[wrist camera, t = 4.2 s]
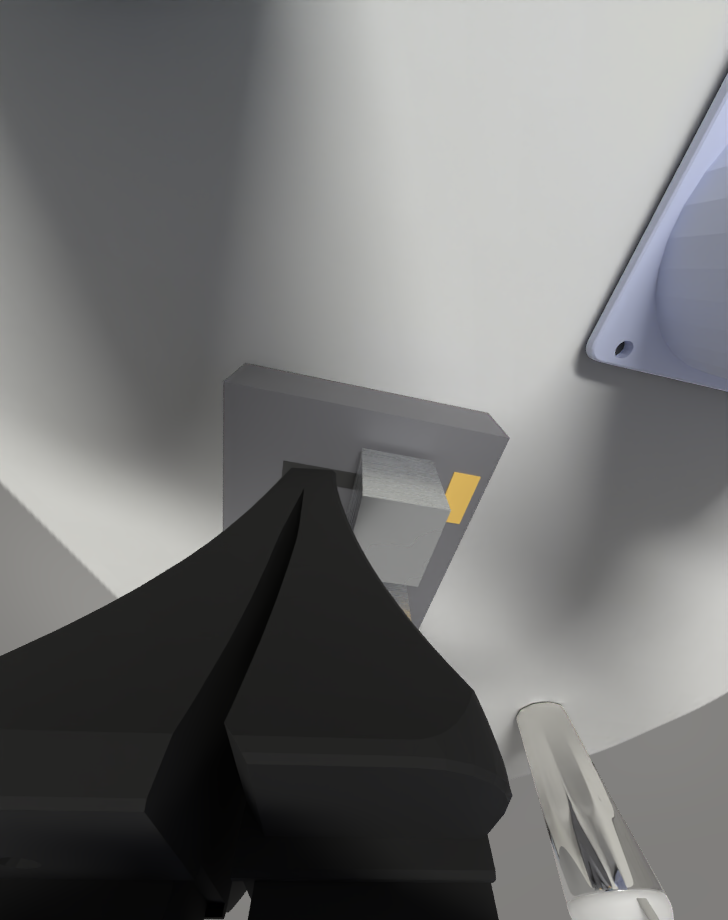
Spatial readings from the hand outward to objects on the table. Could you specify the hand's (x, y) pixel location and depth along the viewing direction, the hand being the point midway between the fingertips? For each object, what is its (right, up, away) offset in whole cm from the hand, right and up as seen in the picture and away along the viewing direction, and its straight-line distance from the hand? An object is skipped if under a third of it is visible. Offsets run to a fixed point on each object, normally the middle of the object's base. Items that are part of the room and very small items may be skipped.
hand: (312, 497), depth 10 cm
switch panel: (0, -3, +5) cm, 6 cm away
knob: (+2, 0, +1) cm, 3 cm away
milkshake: (+14, -16, +13) cm, 25 cm away
